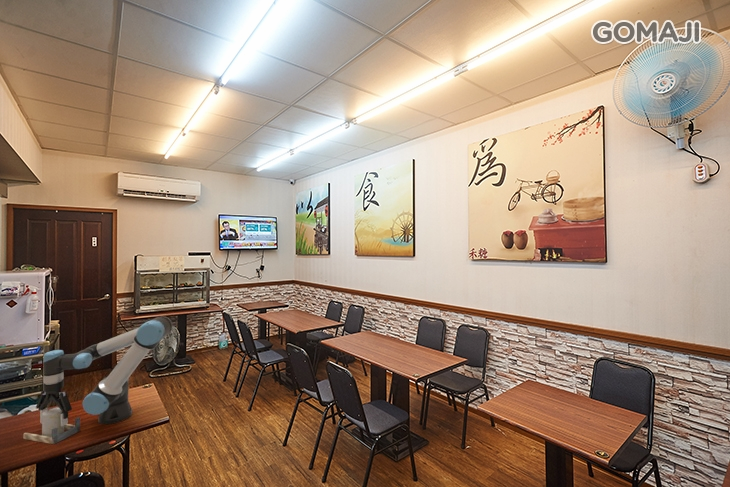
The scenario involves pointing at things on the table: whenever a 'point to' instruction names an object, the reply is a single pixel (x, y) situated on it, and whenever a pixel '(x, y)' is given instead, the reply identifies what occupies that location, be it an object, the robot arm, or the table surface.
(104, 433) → the table surface
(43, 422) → the cup
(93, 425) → the table surface
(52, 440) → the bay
